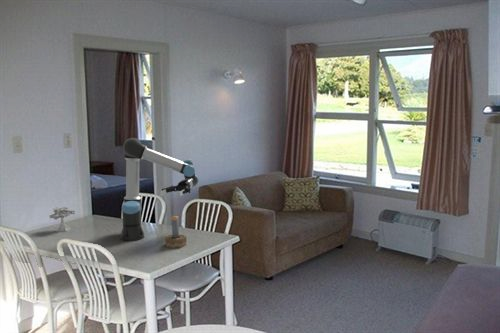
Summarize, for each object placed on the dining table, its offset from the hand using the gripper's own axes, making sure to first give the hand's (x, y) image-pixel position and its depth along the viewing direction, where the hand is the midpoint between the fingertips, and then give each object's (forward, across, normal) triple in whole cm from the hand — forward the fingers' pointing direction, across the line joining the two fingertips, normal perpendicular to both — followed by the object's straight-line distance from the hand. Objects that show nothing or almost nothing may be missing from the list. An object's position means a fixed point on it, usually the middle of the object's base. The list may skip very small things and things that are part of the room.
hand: (170, 194), depth 306 cm
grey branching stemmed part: (0, +88, -26) cm, 92 cm away
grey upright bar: (+10, -5, -30) cm, 32 cm away
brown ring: (+10, -5, -30) cm, 32 cm away
